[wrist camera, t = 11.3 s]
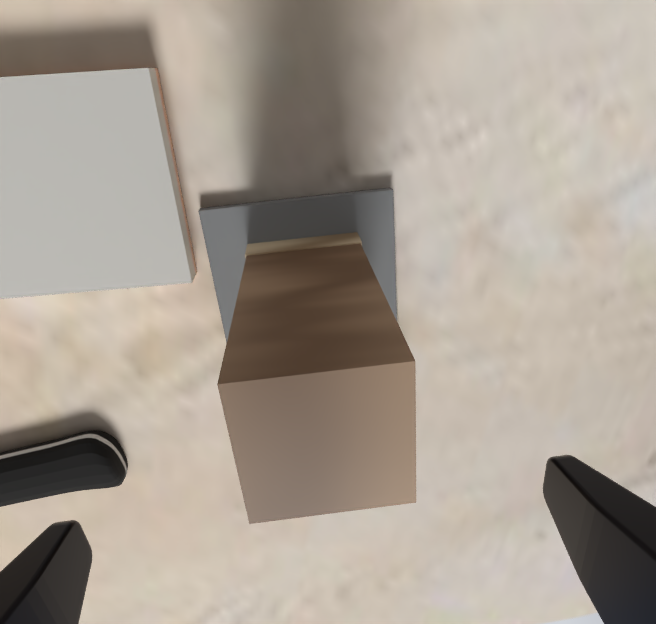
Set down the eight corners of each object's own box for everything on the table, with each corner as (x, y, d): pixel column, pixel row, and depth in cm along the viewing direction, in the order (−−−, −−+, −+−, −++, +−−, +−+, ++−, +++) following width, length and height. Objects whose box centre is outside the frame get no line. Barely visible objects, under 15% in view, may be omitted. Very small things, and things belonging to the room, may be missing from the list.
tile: (199, 267, 19) (161, 68, 16) (192, 282, 17) (148, 67, 14) (18, 282, 18) (-58, 82, 15) (-5, 299, 17) (-94, 83, 14)
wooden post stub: (357, 232, 18) (417, 358, 10) (363, 328, 19) (418, 503, 11) (247, 244, 17) (214, 382, 9) (263, 340, 19) (247, 525, 11)
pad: (391, 187, 17) (393, 189, 17) (395, 350, 20) (397, 355, 20) (200, 208, 17) (198, 211, 17) (234, 369, 20) (233, 375, 20)
